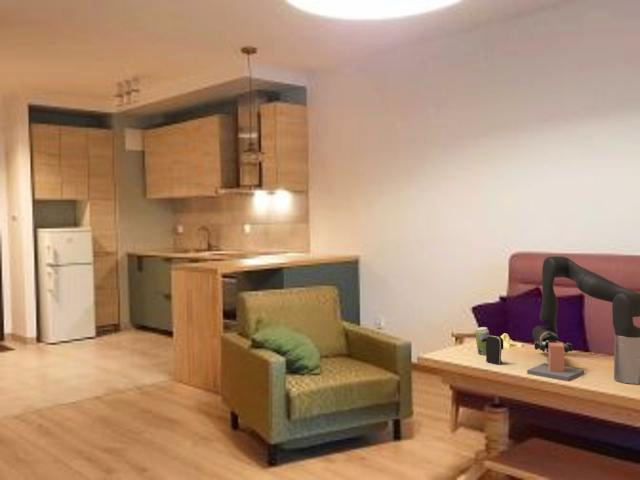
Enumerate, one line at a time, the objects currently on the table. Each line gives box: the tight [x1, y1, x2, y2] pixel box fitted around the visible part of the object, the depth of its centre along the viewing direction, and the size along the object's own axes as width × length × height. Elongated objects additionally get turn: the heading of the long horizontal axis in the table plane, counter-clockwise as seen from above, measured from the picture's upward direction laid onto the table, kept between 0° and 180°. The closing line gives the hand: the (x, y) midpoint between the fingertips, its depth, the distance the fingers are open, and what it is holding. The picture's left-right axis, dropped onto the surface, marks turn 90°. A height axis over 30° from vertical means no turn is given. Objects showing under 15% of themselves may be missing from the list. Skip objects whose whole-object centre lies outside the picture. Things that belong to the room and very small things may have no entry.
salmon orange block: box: [547, 342, 565, 372], centre depth 244 cm, size 5×7×10 cm
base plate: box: [526, 362, 585, 382], centre depth 244 cm, size 16×16×2 cm
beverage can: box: [474, 326, 491, 356], centre depth 279 cm, size 6×7×12 cm
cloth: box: [500, 332, 525, 350], centre depth 301 cm, size 22×19×6 cm
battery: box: [485, 335, 504, 365], centre depth 262 cm, size 7×4×11 cm, turn 35°
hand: (555, 349), depth 246 cm, fingers open, 8 cm apart
